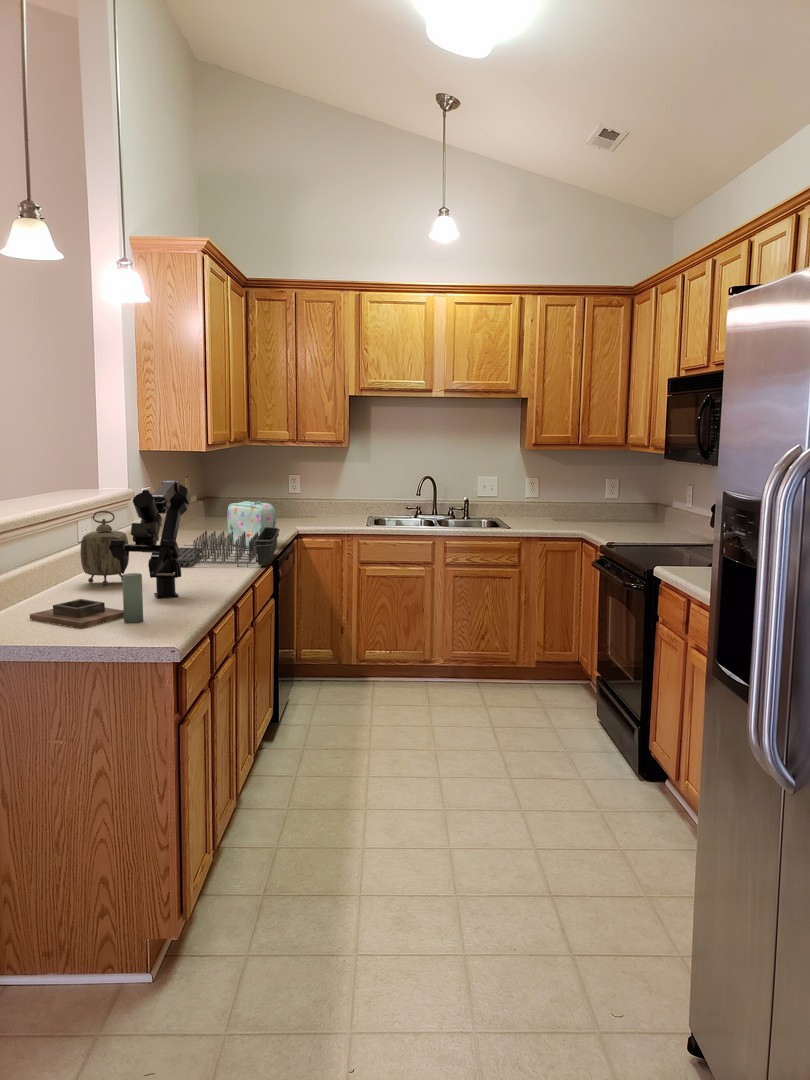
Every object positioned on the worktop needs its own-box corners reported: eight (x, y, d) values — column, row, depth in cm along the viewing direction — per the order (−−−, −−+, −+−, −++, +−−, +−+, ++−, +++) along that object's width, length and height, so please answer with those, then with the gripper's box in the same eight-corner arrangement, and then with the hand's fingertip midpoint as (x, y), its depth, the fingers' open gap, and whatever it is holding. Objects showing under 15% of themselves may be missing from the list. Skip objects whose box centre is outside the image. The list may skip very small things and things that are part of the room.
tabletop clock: (130, 581, 267) (127, 509, 264) (126, 586, 258) (124, 512, 255) (85, 582, 264) (82, 509, 260) (80, 587, 255) (77, 512, 252)
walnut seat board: (77, 608, 226) (77, 594, 225) (127, 616, 217) (127, 602, 217) (29, 619, 212) (29, 605, 211) (81, 628, 203) (80, 613, 202)
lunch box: (281, 549, 344) (281, 501, 341) (263, 551, 336) (263, 503, 333) (242, 543, 360) (242, 497, 357) (225, 545, 352) (224, 498, 349)
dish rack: (273, 569, 295) (273, 538, 294) (156, 569, 292) (155, 537, 290) (281, 555, 329) (280, 527, 327) (175, 554, 326) (174, 526, 324)
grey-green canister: (122, 620, 212) (121, 574, 211) (141, 618, 215) (140, 572, 213) (125, 624, 208) (123, 577, 206) (144, 622, 210) (143, 575, 209)
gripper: (109, 511, 219) (97, 556, 209) (175, 512, 219) (166, 556, 210) (119, 535, 227) (108, 579, 218) (183, 536, 228) (174, 579, 219)
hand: (139, 573), depth 216 cm, fingers open, 9 cm apart
